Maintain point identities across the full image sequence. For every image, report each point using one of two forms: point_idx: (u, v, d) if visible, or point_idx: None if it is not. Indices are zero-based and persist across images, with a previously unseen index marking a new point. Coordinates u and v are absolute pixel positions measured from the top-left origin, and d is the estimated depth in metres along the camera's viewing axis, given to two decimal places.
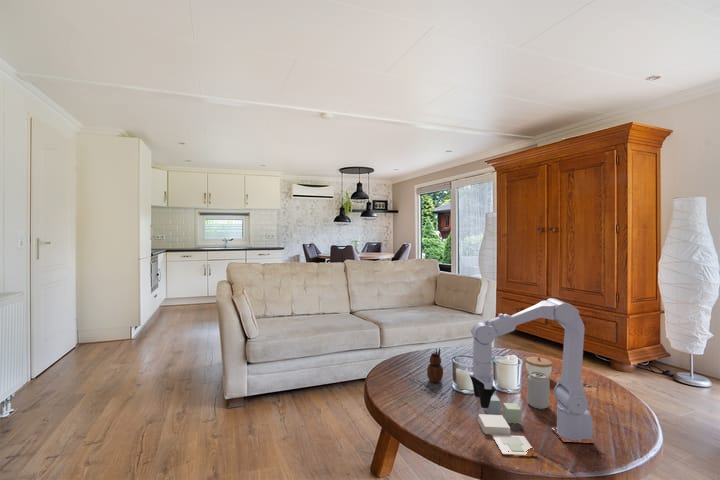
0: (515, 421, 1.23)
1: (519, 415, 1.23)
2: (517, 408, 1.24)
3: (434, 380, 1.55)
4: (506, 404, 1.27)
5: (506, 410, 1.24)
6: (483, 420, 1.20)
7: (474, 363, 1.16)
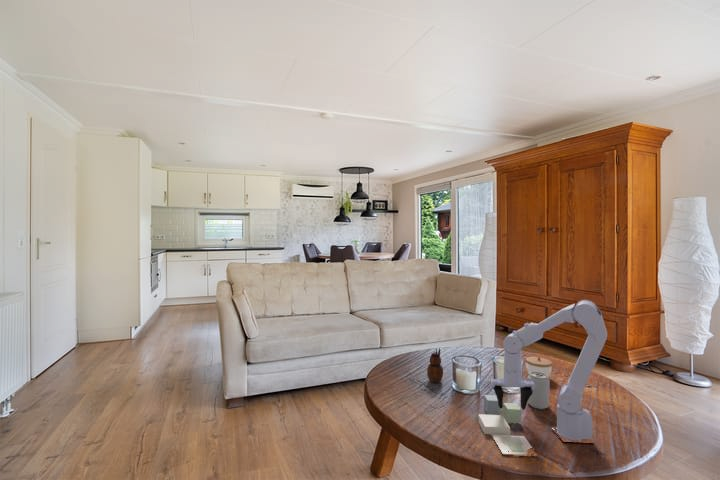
0: (515, 421, 1.23)
1: (519, 415, 1.23)
2: (517, 408, 1.24)
3: (434, 380, 1.55)
4: (506, 404, 1.27)
5: (506, 410, 1.24)
6: (483, 420, 1.20)
7: None
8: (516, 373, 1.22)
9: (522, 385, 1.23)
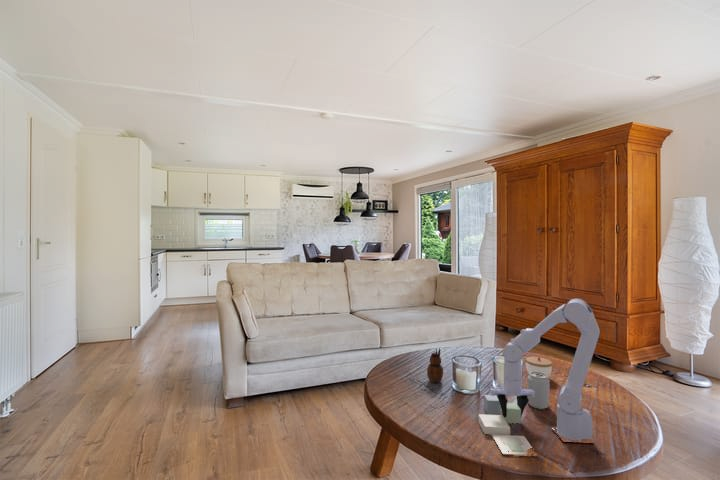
0: (515, 421, 1.23)
1: (519, 415, 1.23)
2: (517, 408, 1.24)
3: (434, 380, 1.55)
4: None
5: (506, 410, 1.24)
6: (483, 420, 1.20)
7: None
8: (516, 382, 1.22)
9: (522, 394, 1.23)
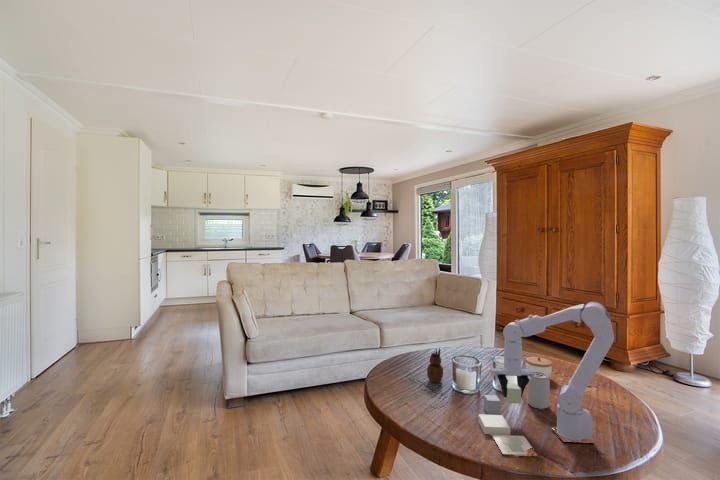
0: (515, 401, 1.23)
1: (519, 395, 1.23)
2: (517, 388, 1.24)
3: (434, 380, 1.55)
4: None
5: None
6: (483, 420, 1.20)
7: None
8: (516, 361, 1.22)
9: (522, 373, 1.23)
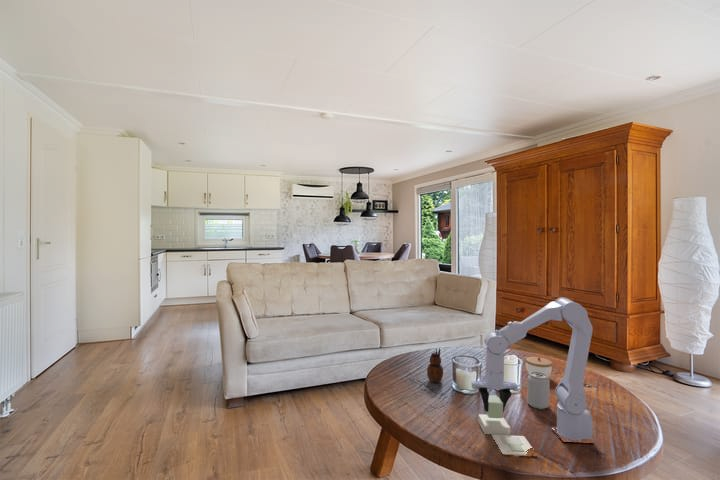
0: (497, 415, 1.18)
1: (501, 409, 1.17)
2: (499, 402, 1.18)
3: (434, 380, 1.55)
4: None
5: (488, 404, 1.19)
6: (483, 420, 1.20)
7: None
8: (498, 374, 1.17)
9: (504, 387, 1.17)
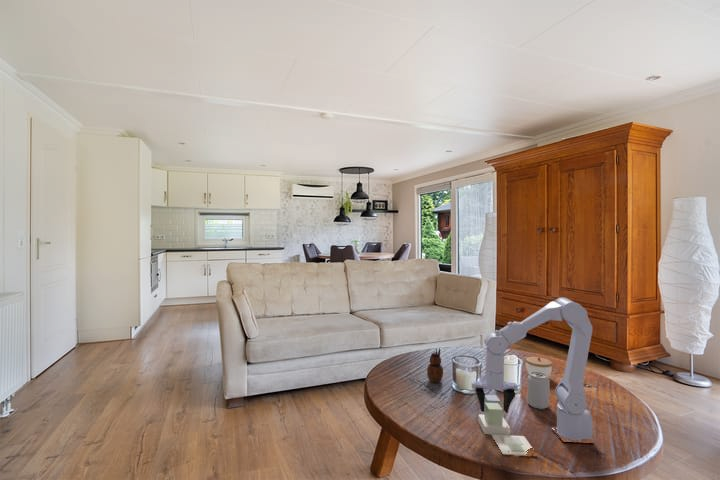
0: (497, 422, 1.18)
1: (501, 415, 1.17)
2: (499, 408, 1.18)
3: (434, 380, 1.55)
4: (487, 404, 1.21)
5: (487, 410, 1.19)
6: (483, 420, 1.20)
7: None
8: (498, 375, 1.17)
9: (504, 387, 1.17)
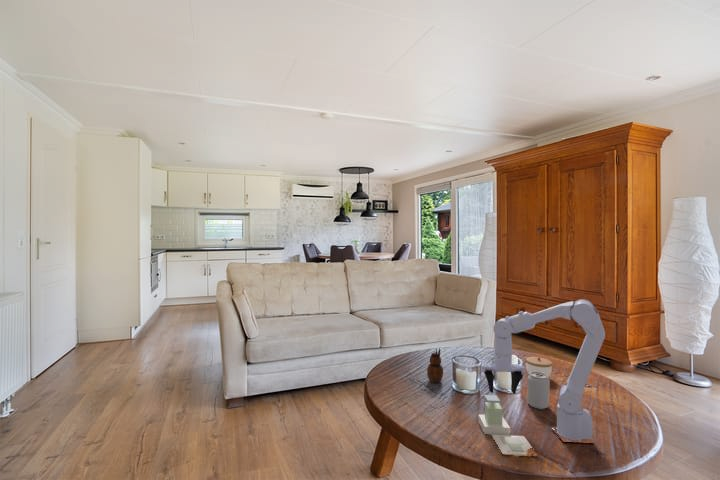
0: (496, 421, 1.18)
1: (501, 415, 1.18)
2: (499, 408, 1.18)
3: (434, 380, 1.55)
4: (488, 403, 1.21)
5: (487, 410, 1.19)
6: (483, 420, 1.20)
7: None
8: (506, 357, 1.23)
9: (512, 369, 1.24)
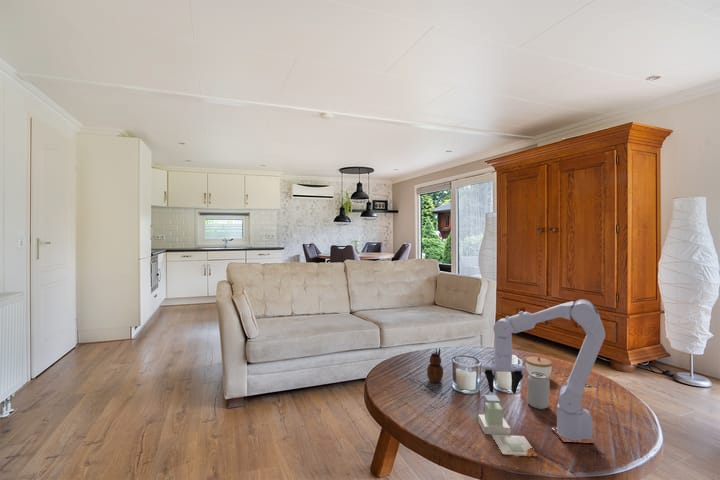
0: (497, 421, 1.18)
1: (501, 415, 1.17)
2: (499, 408, 1.18)
3: (434, 380, 1.55)
4: (488, 404, 1.21)
5: (488, 410, 1.19)
6: (483, 420, 1.20)
7: None
8: (506, 357, 1.23)
9: (512, 369, 1.24)
